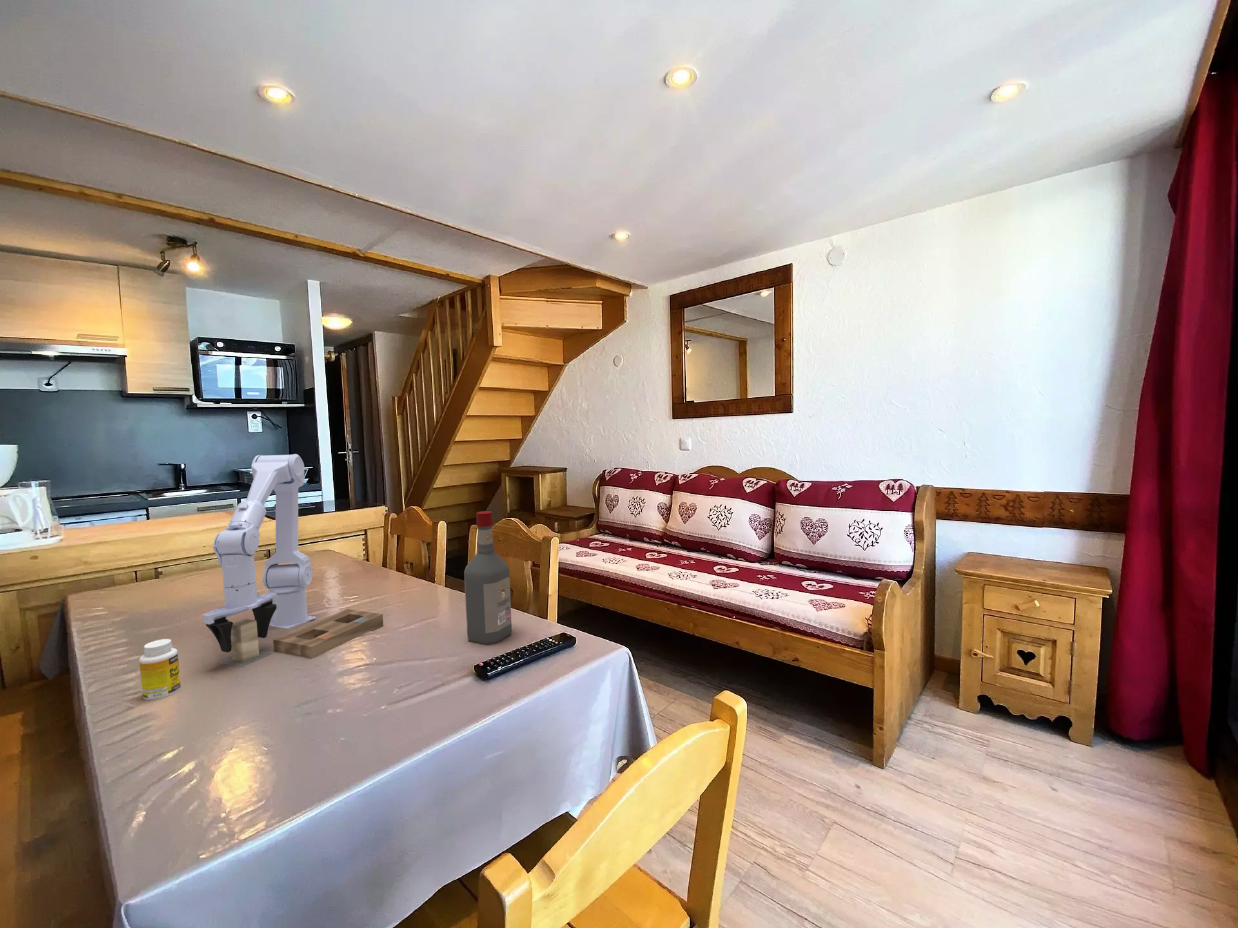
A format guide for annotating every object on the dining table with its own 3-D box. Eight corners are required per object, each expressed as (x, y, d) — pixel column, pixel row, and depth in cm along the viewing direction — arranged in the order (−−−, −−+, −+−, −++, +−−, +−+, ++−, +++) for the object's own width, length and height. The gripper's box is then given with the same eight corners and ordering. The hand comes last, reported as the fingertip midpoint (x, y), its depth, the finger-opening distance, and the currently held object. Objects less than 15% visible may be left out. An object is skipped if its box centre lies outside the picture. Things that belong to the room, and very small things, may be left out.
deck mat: (218, 664, 112) (218, 662, 112) (251, 650, 119) (251, 648, 119) (240, 668, 110) (240, 667, 110) (272, 654, 116) (272, 653, 116)
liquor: (516, 631, 126) (511, 510, 124) (492, 646, 118) (487, 516, 116) (486, 626, 130) (481, 508, 128) (461, 640, 122) (455, 514, 119)
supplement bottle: (176, 697, 99) (171, 645, 98) (138, 704, 96) (132, 651, 96) (185, 684, 104) (180, 634, 103) (149, 690, 101) (144, 640, 101)
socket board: (274, 652, 118) (273, 639, 117) (348, 619, 136) (347, 608, 136) (312, 659, 113) (311, 646, 113) (383, 625, 132) (382, 613, 132)
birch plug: (233, 659, 113) (229, 624, 113) (248, 653, 117) (245, 618, 116) (243, 662, 112) (240, 626, 111) (259, 655, 115) (256, 620, 115)
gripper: (216, 596, 105) (221, 660, 106) (284, 575, 118) (289, 633, 119) (193, 592, 107) (199, 656, 108) (263, 573, 121) (267, 629, 122)
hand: (244, 643), depth 114 cm, fingers open, 7 cm apart
